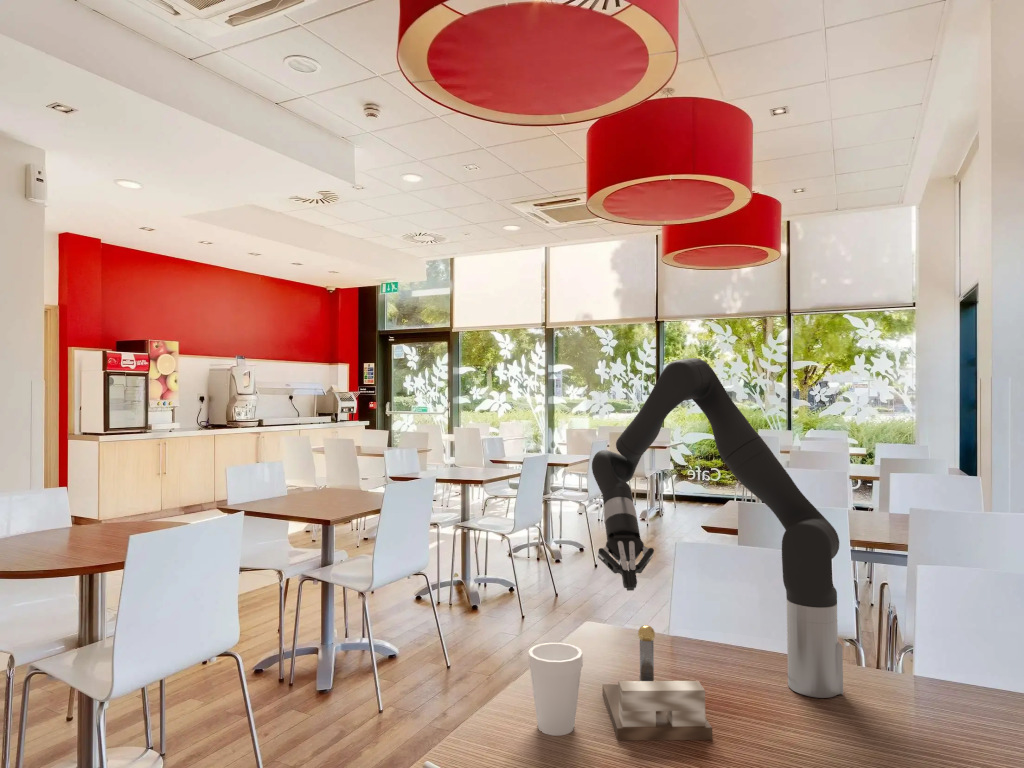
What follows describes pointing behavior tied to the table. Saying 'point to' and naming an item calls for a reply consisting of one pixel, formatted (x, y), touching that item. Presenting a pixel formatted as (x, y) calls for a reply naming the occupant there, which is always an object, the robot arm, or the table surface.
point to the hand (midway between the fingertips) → (631, 588)
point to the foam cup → (555, 685)
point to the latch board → (650, 731)
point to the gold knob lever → (646, 653)
